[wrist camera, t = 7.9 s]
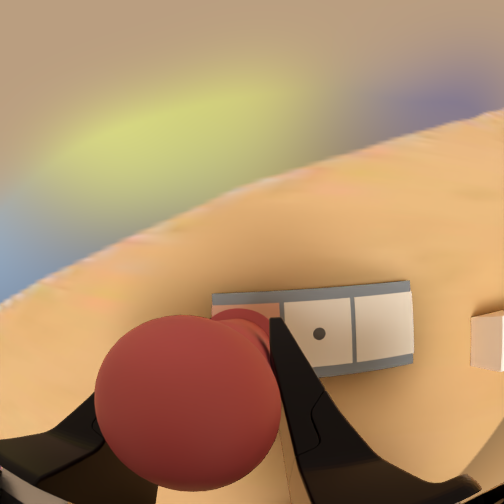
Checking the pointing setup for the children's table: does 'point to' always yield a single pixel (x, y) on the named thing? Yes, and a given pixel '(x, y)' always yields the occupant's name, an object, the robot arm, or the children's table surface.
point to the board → (340, 323)
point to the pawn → (191, 399)
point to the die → (488, 341)
